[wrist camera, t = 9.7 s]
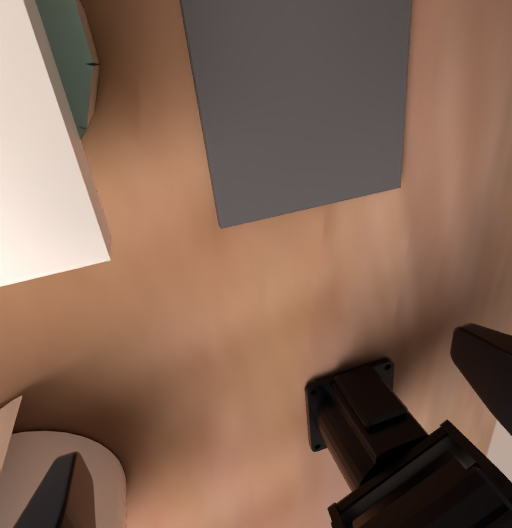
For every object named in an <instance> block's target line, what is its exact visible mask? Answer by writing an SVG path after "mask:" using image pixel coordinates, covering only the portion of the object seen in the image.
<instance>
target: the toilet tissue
mask: <svg viewBox="0 0 512 528" xmlns="http://www.w3.org/2000/svg"><path fill="white" fill-rule="evenodd" d="M21 399H22V396H20V397H18V398H16V399H14V400H12V401H11V402H10V403H8V404H7V405H6V406H4V407H3V408H1V409H0V528H13V526H14V525H15V523H16V522H17V520H18V518H19V517H20V515H21V513H22V512H23V510H24V509H25V507H26V505H27V504H28V502H29V500H30V499H31V497H32V496H33V494H34V492H35V491H36V489H37V487H38V486H39V484H40V483H41V481H42V479H43V478H44V476H45V474H46V473H47V471H48V470H49V468H50V466H51V465H52V463H53V462H54V460H55V459H56V458H57V457H59V456H62V455H65V454H68V453H71V452H74V451H78V452H79V453H80V454H81V456H82V458H83V460H84V462H85V464H86V466H87V468H88V470H89V472H90V474H91V476H92V479H93V485H94V501H95V520H96V528H127V525H126V519H127V503H126V496H127V493H126V478H125V474H124V470H123V468H122V466H121V464H120V462H119V460H118V459H117V458H116V457H115V456H114V454H113V453H112V452H111V451H110V450H108V449H107V448H105V447H104V446H102V445H101V444H99V443H98V442H95V441H93V440H90V439H88V438H86V437H83V436H79V435H74V434H70V433H66V432H54V431H32V432H21V433H15V434H12V431H13V427H14V423H15V420H16V417H17V413H18V409H19V406H20V402H21Z"/></svg>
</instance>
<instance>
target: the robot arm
mask: <svg viewBox="0 0 512 528" xmlns="http://www.w3.org/2000/svg"><path fill="white" fill-rule="evenodd" d="M450 355H451V358H452V360H453V362H454V364H455V365H456V366H457V368H458V369H459V370H460V372H461V373H462V374H463V376H464V377H465V378H466V380H467V381H468V382H469V384H470V385H471V386H472V388H473V389H474V391H475V392H476V393H477V395H478V396H479V397H480V399H481V400H482V401H483V403H484V404H485V405H486V407H487V408H488V409H489V410H490V412H491V413H492V414H493V415H494V416H495V418H496V419H497V420H498V421H499V422H500V423H501V425H502V426H503V427H504V428H505V429H506V430H507V431H508V432H509V433H510V435H511V436H512V336H511V335H508V334H505V333H502V332H498V331H495V330H492V329H489V328H486V327H482V326H479V325H476V324H473V323H468V324H465V325H461V326H458V327H456V328H455V329H454V331H453V337H452V343H451V350H450ZM393 374H394V363H393V362H392V361H391V360H390V359H389V358H384V359H381V360H378V361H375V362H372V363H369V364H366V365H363V366H359V367H356V368H353V369H350V370H347V371H344V372H341V373H338V374H335V375H332V376H329V377H326V378H323V379H320V380H317V381H314V382H311V383H309V384H308V385H307V386H306V387H305V399H306V411H307V424H308V436H309V445H310V448H311V450H312V451H313V452H317V451H320V450H323V449H325V448H328V450H329V451H330V453H331V455H332V457H333V459H334V460H335V462H336V464H337V466H338V468H339V470H340V471H341V473H342V475H343V477H344V479H345V480H346V482H347V484H348V486H349V488H350V490H351V491H352V492H351V493H350V494H349V495H347V496H346V497H344V498H343V499H342V500H340V501H339V502H338V503H333V504H332V505H331V506H329V507H328V511H329V514H330V517H331V520H332V522H331V525H332V528H512V483H511V481H510V480H509V479H508V478H507V477H506V476H505V475H504V474H503V473H502V472H501V471H500V470H499V469H498V468H497V467H496V466H495V465H494V464H493V463H492V462H491V461H490V460H489V459H488V458H487V457H486V456H485V455H484V454H483V453H482V452H481V451H480V450H478V449H477V448H476V447H475V446H474V445H473V444H472V443H471V442H470V441H469V440H468V439H467V438H466V437H465V436H464V435H463V434H462V433H461V432H460V431H459V430H458V429H457V428H456V427H455V426H454V425H453V424H452V423H451V422H450V421H449V420H446V421H445V422H443V423H442V424H440V426H441V427H439V428H438V429H437V430H435V431H434V432H433V433H431V434H430V435H428V434H427V432H426V431H425V430H424V429H423V428H422V426H421V425H420V424H419V423H418V422H417V420H416V419H415V418H414V417H413V416H412V415H411V413H410V412H409V411H408V409H407V407H406V406H405V405H404V404H403V403H402V401H401V400H400V399H399V398H398V397H397V395H396V394H395V393H394V392H393V391H392V389H393ZM13 528H96V520H95V501H94V485H93V479H92V476H91V474H90V472H89V470H88V468H87V466H86V464H85V462H84V460H83V458H82V456H81V454H80V453H79V452H78V451H74V452H71V453H68V454H65V455H62V456H59V457H57V458H56V459H55V460H54V462H53V463H52V465H51V466H50V468H49V470H48V471H47V473H46V474H45V476H44V478H43V479H42V481H41V483H40V484H39V486H38V487H37V489H36V491H35V492H34V494H33V496H32V497H31V499H30V500H29V502H28V504H27V505H26V507H25V509H24V510H23V512H22V513H21V515H20V517H19V518H18V520H17V522H16V523H15V525H14V526H13Z"/></svg>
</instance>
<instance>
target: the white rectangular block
mask: <svg viewBox="0 0 512 528" xmlns="http://www.w3.org/2000/svg"><path fill="white" fill-rule="evenodd" d="M110 260H111V233H110V230H109V227H108V223H107V220H106V217H105V214H104V211H103V208H102V205H101V202H100V199H99V196H98V193H97V190H96V186H95V183H94V180H93V177H92V174H91V171H90V168H89V165H88V162H87V159H86V156H85V152H84V149H83V146H82V143H81V140H80V137H79V134H78V131H77V128H76V125H75V122H74V119H73V115H72V112H71V109H70V106H69V103H68V100H67V97H66V94H65V91H64V88H63V85H62V81H61V78H60V75H59V72H58V69H57V66H56V63H55V60H54V57H53V54H52V51H51V48H50V44H49V41H48V38H47V35H46V32H45V29H44V26H43V23H42V20H41V17H40V14H39V10H38V7H37V4H36V1H35V0H0V286H5V285H9V284H13V283H17V282H21V281H26V280H30V279H34V278H38V277H43V276H47V275H51V274H55V273H59V272H64V271H68V270H72V269H76V268H80V267H85V266H89V265H93V264H97V263H101V262H106V261H110Z"/></svg>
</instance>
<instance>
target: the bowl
mask: <svg viewBox="0 0 512 528" xmlns="http://www.w3.org/2000/svg"><path fill="white" fill-rule="evenodd" d="M35 1H36V4H37V7H38V10H39V14H40V17H41V20H42V23H43V26H44V29H45V32H46V35H47V38H48V41H49V44H50V48H51V51H52V54H53V57H54V60H55V63H56V66H57V69H58V72H59V75H60V78H61V81H62V85H63V88H64V91H65V94H66V97H67V100H68V103H69V106H70V109H71V112H72V115H73V119H74V122H75V125H76V128H77V131H78V134H79V137H80V140H81V138H82V137H83V135H84V133H85V132H86V130H87V128H88V125H89V123H90V121H91V119H92V117H93V115H94V112H95V104H96V95H97V85H98V76H99V65H95V64H97V63H99V60H98V56H97V53H96V49H95V45H94V42H93V38H92V34H91V31H90V27H89V23H88V20H87V16H86V12H85V10H84V8H83V6H82V4H81V3H80V1H79V0H35Z"/></svg>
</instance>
